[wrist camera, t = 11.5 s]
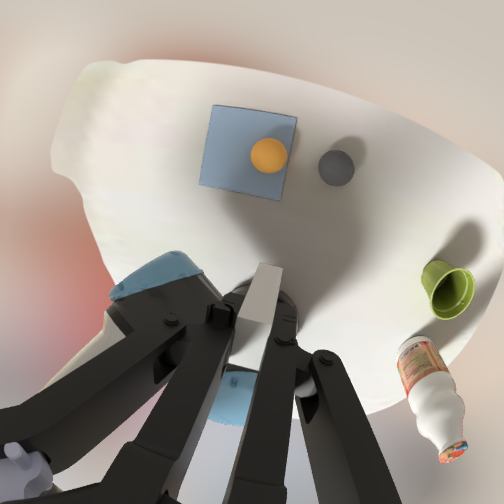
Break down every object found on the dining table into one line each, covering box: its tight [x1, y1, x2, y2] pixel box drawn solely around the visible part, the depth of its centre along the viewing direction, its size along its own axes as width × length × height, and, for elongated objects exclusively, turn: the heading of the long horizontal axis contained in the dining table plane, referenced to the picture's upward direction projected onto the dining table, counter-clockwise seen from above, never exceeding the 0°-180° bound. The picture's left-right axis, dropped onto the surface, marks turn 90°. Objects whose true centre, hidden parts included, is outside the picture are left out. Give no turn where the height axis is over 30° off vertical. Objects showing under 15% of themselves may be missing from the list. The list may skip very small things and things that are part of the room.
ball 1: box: [251, 138, 287, 173], centre depth 41 cm, size 6×6×6 cm
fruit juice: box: [395, 336, 468, 463], centre depth 36 cm, size 9×9×28 cm
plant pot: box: [421, 260, 475, 320], centre depth 40 cm, size 9×9×9 cm
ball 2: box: [318, 151, 354, 186], centre depth 39 cm, size 6×6×6 cm
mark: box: [199, 105, 297, 201], centre depth 43 cm, size 14×14×1 cm
